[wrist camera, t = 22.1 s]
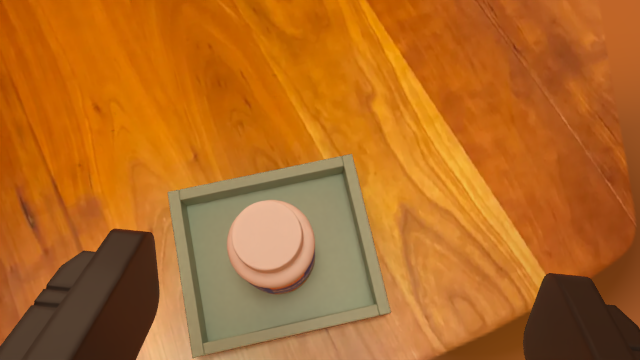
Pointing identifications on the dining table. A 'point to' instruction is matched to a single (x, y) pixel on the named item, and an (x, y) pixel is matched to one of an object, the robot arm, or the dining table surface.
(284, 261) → the pill bottle
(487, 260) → the dining table surface
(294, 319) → the tray
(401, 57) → the dining table surface
